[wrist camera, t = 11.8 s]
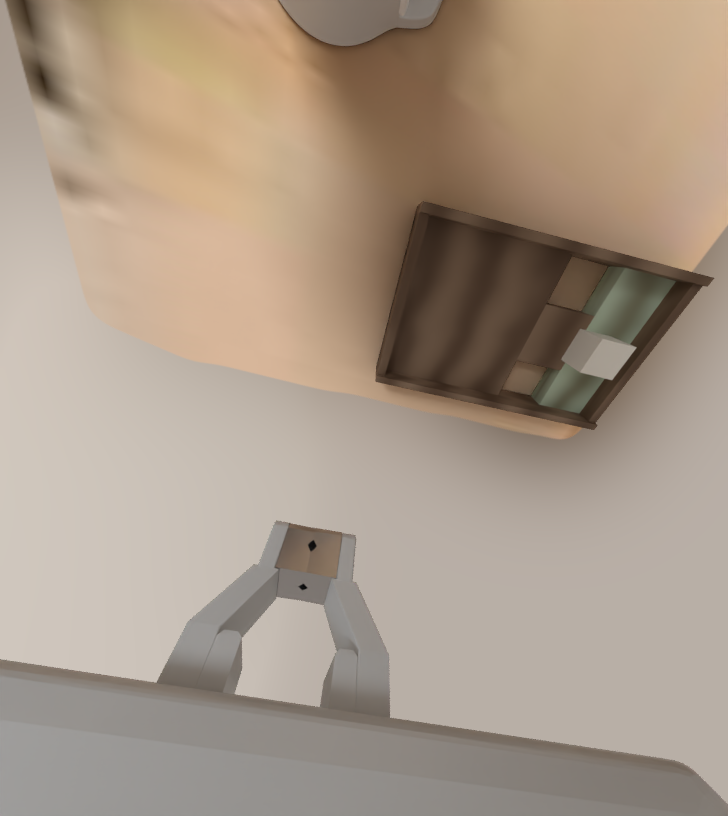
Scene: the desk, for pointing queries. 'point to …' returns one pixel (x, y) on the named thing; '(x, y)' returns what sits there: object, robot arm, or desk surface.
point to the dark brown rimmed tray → (517, 315)
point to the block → (597, 354)
